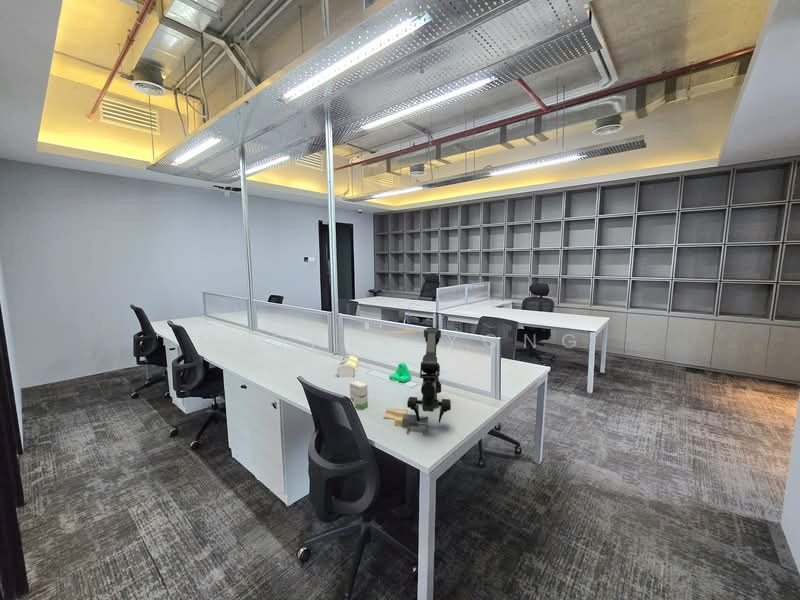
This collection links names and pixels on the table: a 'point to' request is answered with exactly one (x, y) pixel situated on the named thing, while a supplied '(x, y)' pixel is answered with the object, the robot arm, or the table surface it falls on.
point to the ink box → (359, 394)
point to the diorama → (348, 366)
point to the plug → (408, 421)
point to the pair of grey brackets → (417, 427)
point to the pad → (394, 413)
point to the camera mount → (401, 373)
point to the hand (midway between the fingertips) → (428, 421)
